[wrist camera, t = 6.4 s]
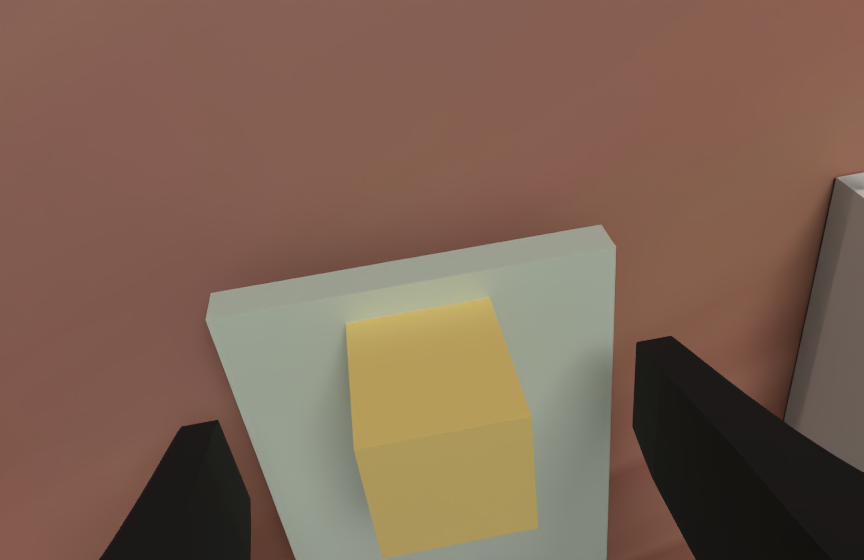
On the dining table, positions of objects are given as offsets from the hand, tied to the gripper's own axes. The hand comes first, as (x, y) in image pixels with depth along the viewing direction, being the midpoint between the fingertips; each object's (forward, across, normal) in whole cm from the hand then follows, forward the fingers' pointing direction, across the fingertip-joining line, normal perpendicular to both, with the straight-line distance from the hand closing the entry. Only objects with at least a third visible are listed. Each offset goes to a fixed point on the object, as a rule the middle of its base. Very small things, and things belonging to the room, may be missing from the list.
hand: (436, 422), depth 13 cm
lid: (+2, 0, +3) cm, 4 cm away
